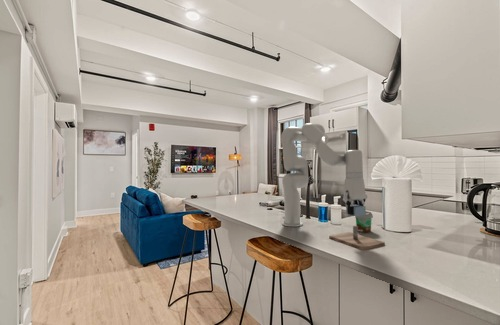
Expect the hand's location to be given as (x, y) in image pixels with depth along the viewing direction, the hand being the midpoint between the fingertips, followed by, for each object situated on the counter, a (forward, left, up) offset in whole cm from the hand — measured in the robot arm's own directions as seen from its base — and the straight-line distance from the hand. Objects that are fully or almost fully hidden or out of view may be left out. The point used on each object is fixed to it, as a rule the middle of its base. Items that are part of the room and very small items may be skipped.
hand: (355, 213), depth 117 cm
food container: (-9, +19, -14) cm, 25 cm away
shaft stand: (0, 0, -13) cm, 13 cm away
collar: (0, 0, -1) cm, 1 cm away
